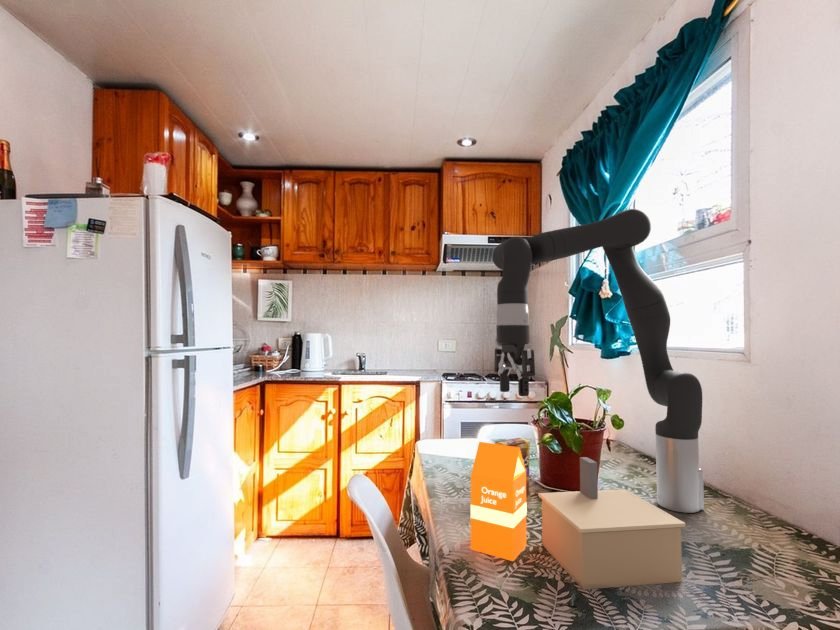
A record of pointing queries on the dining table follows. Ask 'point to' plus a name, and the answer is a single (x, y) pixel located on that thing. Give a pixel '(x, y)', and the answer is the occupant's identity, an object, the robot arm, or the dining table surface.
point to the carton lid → (606, 506)
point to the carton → (613, 553)
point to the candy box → (525, 451)
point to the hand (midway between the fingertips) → (513, 393)
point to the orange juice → (498, 501)
